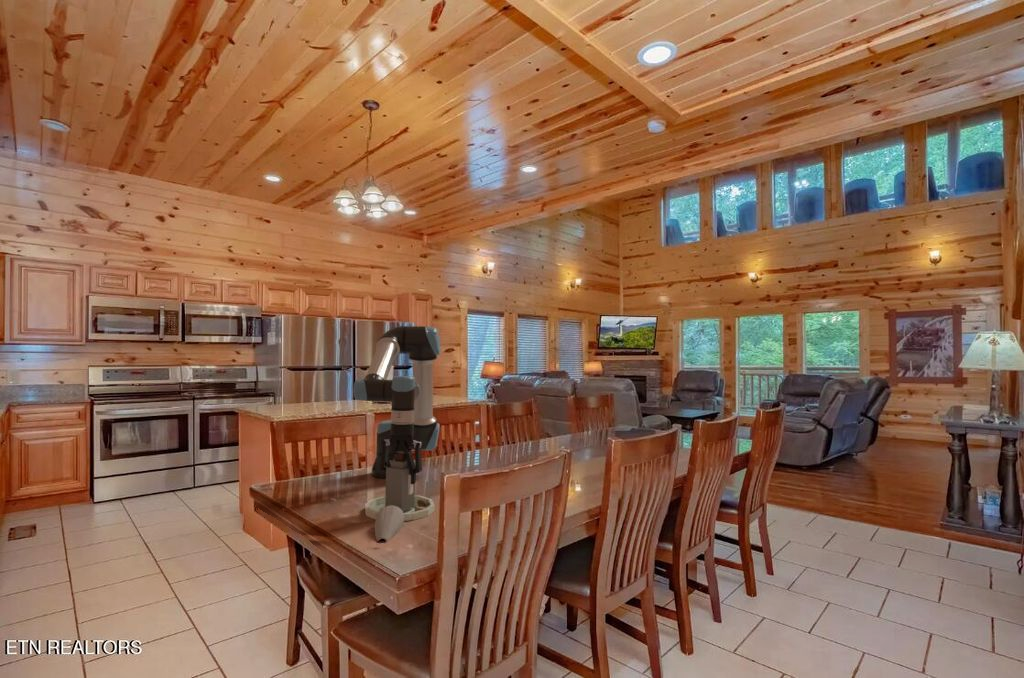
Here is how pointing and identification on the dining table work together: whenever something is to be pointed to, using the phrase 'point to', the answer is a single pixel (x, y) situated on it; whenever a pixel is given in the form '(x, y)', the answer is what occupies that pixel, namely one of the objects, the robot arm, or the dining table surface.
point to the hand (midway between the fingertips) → (400, 492)
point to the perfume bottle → (398, 484)
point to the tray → (379, 503)
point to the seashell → (388, 522)
